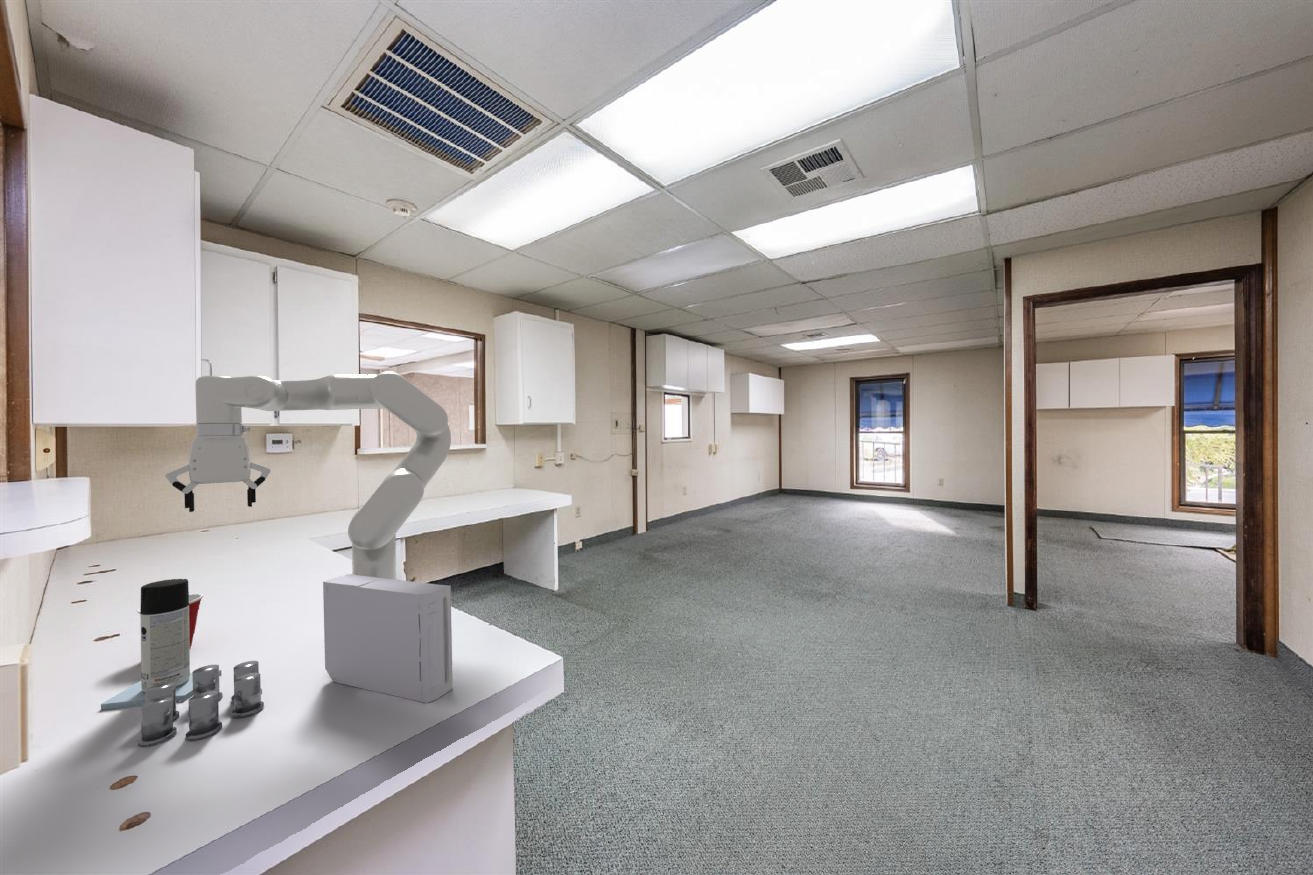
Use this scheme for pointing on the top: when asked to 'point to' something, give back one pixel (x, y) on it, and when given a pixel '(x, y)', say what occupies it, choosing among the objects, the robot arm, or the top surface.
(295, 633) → the top surface
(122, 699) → the pad
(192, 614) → the plastic cup
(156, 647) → the spray can
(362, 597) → the game console
